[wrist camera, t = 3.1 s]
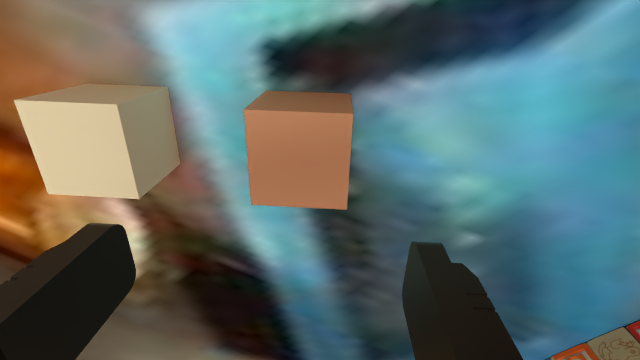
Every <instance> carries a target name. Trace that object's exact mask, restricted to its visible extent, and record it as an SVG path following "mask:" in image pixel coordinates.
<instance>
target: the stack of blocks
mask: <svg viewBox="0 0 640 360" xmlns="http://www.w3.org/2000/svg"><path fill="white" fill-rule="evenodd" d="M545 360H640V321H638V322H635V323H633V324H631V325H628V326H627V327H626V328H625V327H621V328H618V329H616V330H613V331H611V332H609V333H606V334H604V335H601V336H599V337H597V338H594V339H592V340H590V341H588V342H587V343H583V344H580V345H578V346H575V347H573V348H570V349H568V350H566V351H563V352H561V353H558V354H556V355H553V356H551V358H549V359H545Z"/></svg>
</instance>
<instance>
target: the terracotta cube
mask: <svg viewBox="0 0 640 360" xmlns="http://www.w3.org/2000/svg"><path fill="white" fill-rule="evenodd" d="M244 117H245V130H246V143H247V156H248V170H249V183H250V196H251V205H267V206H286V207H306V208H325V209H345V210H347V198H348V184H349V169H350V155H351V140H352V125H353V108H352V101H351V94H348V93H320V92H292V91H265V92H264V93H263V94H262V95H261V96H259V97H258V98H257V99H256V100H255V101H254V102H252V103H251V104H250V105H249V106H248V107H246V108H245V109H244Z"/></svg>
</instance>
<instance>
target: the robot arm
mask: <svg viewBox="0 0 640 360" xmlns="http://www.w3.org/2000/svg"><path fill="white" fill-rule="evenodd" d="M135 276H136V268H135V264H134V260H133V256H132V253H131V249H130V245H129V242H128V238H127V234H126V231H125V229H124V227H123V226H121V225H119V224H101V223H90V224H87V225H86V226H84V227H83V228H82V229H80V230H79V231H78V232H77V233H75V234H74V235H73V236H72V237H70V238H69V239H68V240H66V241H65V242H63V243H61V244H59V245H57V246H55V247H53V248H51V249H49V250H47V251H45V252H44V253H42V254H41V255H40V256H38V257H37V258H36V259H34V260H33V261H32V262H30V263H29V264H28V265H27V267H26V268H23V269H21V270H20V271H19V272H17V273H16V274H15V275H13V276H12V277H11V280H10V281H5V282H4V283H3V284H1V285H0V360H75V359H76V358H77V357H78V355H79V354H80V353H81V352H82V350H83V349H84V348H85V347H86V345H87V344H88V343H89V342H90V340H91V339H92V338H93V337H94V335H95V334H96V333H97V332H98V330H99V329H100V328H101V327H102V325H103V324H104V323H105V322H106V320H107V319H108V318H109V316H110V315H111V314H112V313H113V311H114V310H115V309H116V308H117V306H118V305H119V304H120V303H121V301H122V300H123V299H124V298H125V296H126V295H127V294H128V293H129V291H130V290H131V288H132V286H133V284H134V281H135ZM402 297H403V308H404V312H405V317H406V321H407V326H408V330H409V334H410V339H411V343H412V347H413V352H414V356H415V360H523V358H522V357H521V355H520V353H519V351H518V349H517V348H516V346H515V344H514V342H513V340H512V339H511V337H510V335H509V333H508V331H507V330H506V328H505V326H504V324H503V322H502V320H501V319H500V317H499V315H498V313H497V312H495V308H494V306H493V304H492V302H491V301H490V299H489V298H487V293H486V292H485V290H484V288H483V286H482V284H481V283H480V281H479V279H478V277H476V276H475V275H474V274H473V273H472V272H471V271H470V270H469V269H468V268H467V267H465V266H464V265H463V264H462V263H451V261H450V259H449V257H448V255H447V253H446V250H445V248H444V246H443V245H442V244H441V243H431V242H412V243H411V245H410V249H409V254H408V260H407V265H406V271H405V277H404V282H403V291H402Z"/></svg>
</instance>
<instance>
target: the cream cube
mask: <svg viewBox="0 0 640 360" xmlns="http://www.w3.org/2000/svg"><path fill="white" fill-rule="evenodd" d="M14 102H15V105H16V107H17V110H18V113H19V116H20V118H21V121H22V124H23V126H24V129H25V132H26V135H27V137H28V140H29V143H30V145H31V148H32V151H33V154H34V156H35V159H36V162H37V164H38V167H39V170H40V172H41V175H42V178H43V181H44V183H45V186H46V189H47V191H48V194H59V195H77V196H95V197H113V198H131V199H140V198H141V197H142V196H143V195H144V194H145V193H147V192H148V191H149V190H150V189H151V188H153V187H154V186H155V185H156V184H157V183H158V182H160V181H161V180H162V179H163V178H164V177H165V176H167V175H168V174H169V173H170V172H171V171H173V170H174V169H175V168H176V167H177V166H178V165H180V158H179V152H178V146H177V140H176V134H175V128H174V122H173V116H172V110H171V103H170V97H169V91H168V87H157V86H133V85H108V84H84V85H79V86H75V87H70V88H66V89H61V90H57V91H52V92H48V93H43V94H39V95H34V96H30V97H25V98H21V99H16V100H14Z"/></svg>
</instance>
